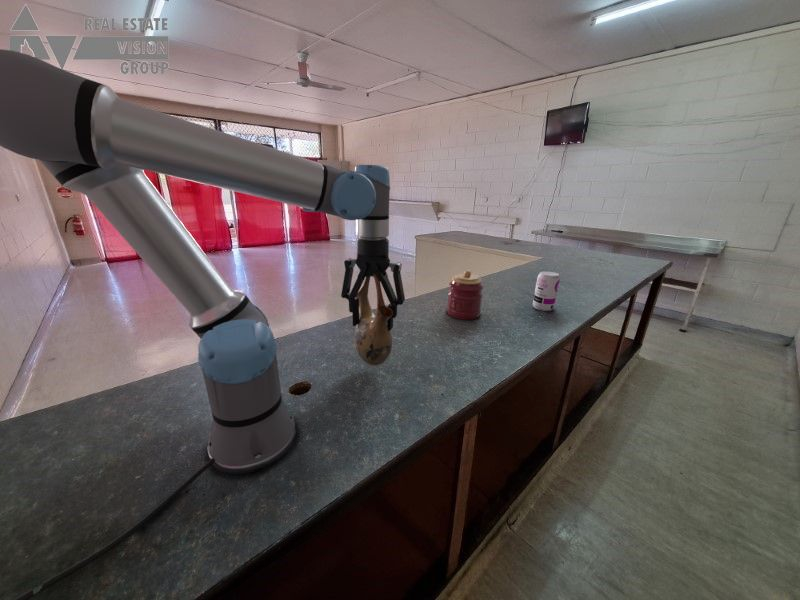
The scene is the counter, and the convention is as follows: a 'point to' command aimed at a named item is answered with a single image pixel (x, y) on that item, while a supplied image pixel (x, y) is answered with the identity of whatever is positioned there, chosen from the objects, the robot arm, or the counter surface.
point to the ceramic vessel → (373, 327)
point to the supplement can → (546, 290)
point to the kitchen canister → (465, 296)
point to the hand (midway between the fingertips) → (372, 326)
